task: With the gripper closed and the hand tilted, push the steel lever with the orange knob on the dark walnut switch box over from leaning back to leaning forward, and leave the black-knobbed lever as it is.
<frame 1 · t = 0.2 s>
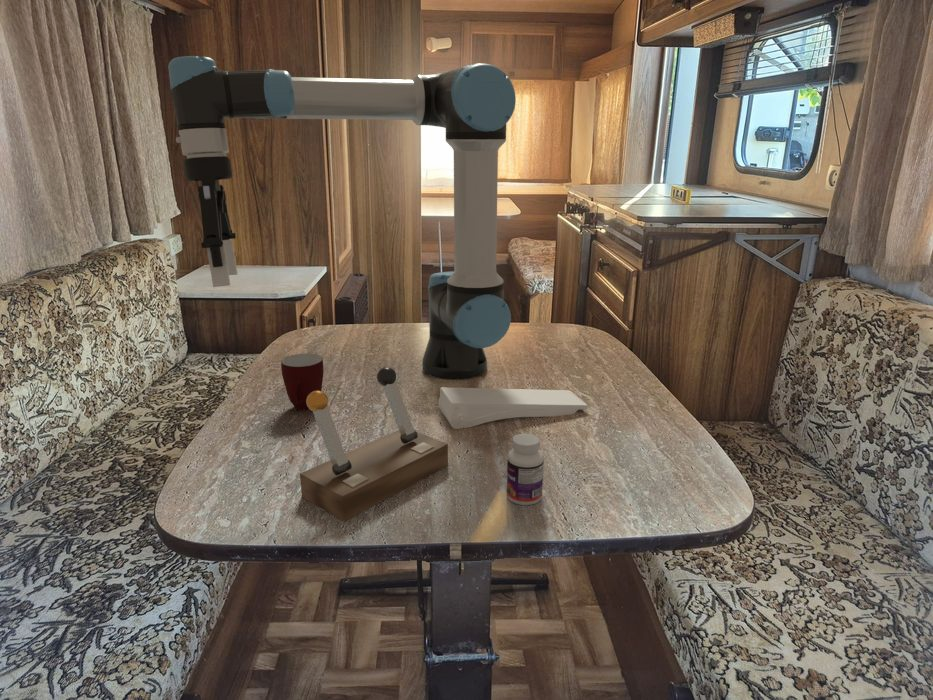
hand: (226, 280, 118), 27 cm above the table, fingers open, 13 cm apart
wall bracket: (512, 415, 132), on the table
mug: (304, 410, 132), on the table
black knob lever: (396, 404, 109), point 10 cm above the table, hinge at -28.0°
orange knob lever: (328, 431, 99), point 10 cm above the table, hinge at -28.0°
pill bottle: (524, 498, 101), on the table
switch box: (378, 480, 105), on the table
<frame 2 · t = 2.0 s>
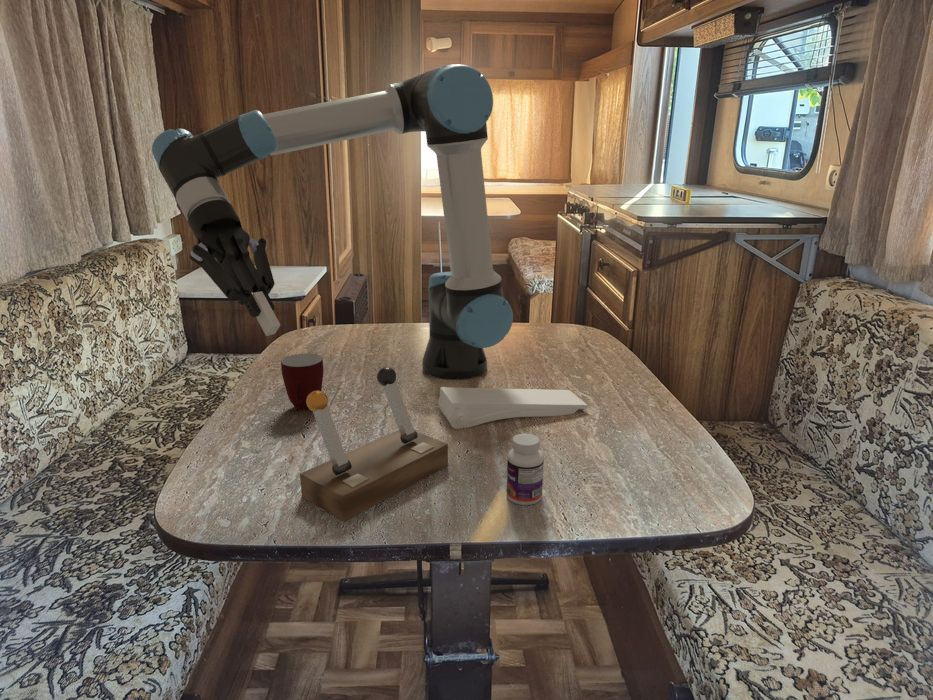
hand: (273, 330, 103), 23 cm above the table, fingers closed
nothing on the table moved.
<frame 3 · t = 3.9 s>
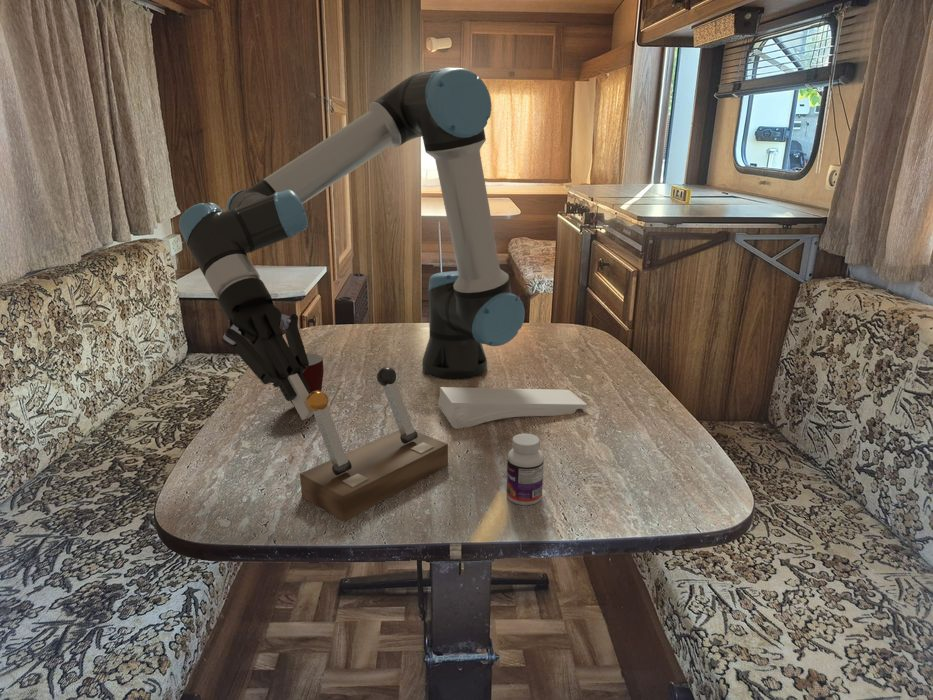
hand: (309, 414, 101), 12 cm above the table, fingers closed
orange knob lever: (328, 431, 99), point 10 cm above the table, hinge at -27.8°, touching gripper
everything else where it was.
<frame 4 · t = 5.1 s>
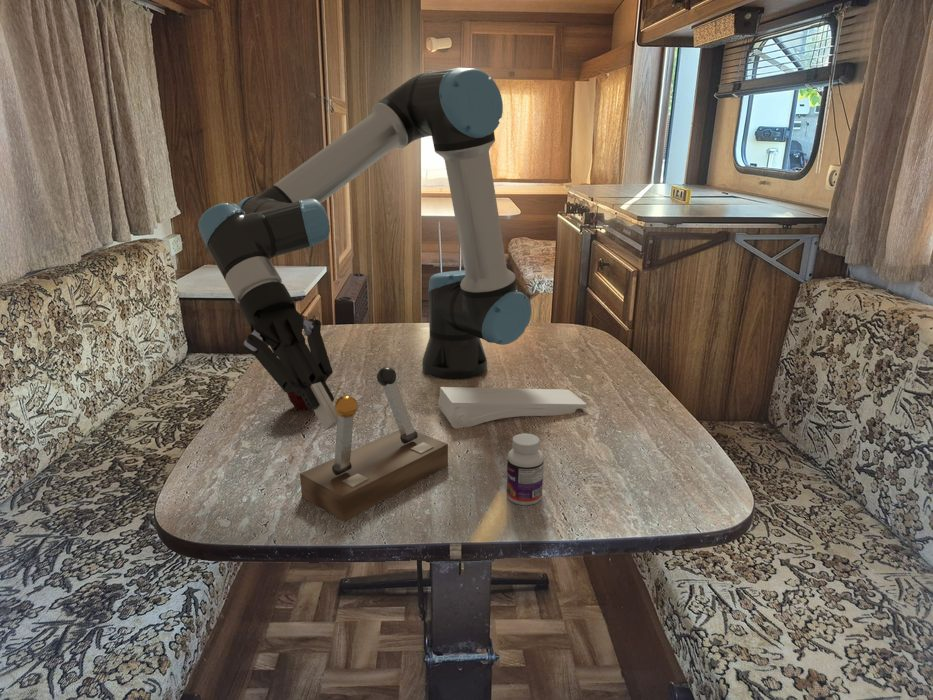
hand: (333, 424, 96), 12 cm above the table, fingers closed
orange knob lever: (344, 435, 96), point 11 cm above the table, hinge at 10.3°, touching gripper
everything else where it was.
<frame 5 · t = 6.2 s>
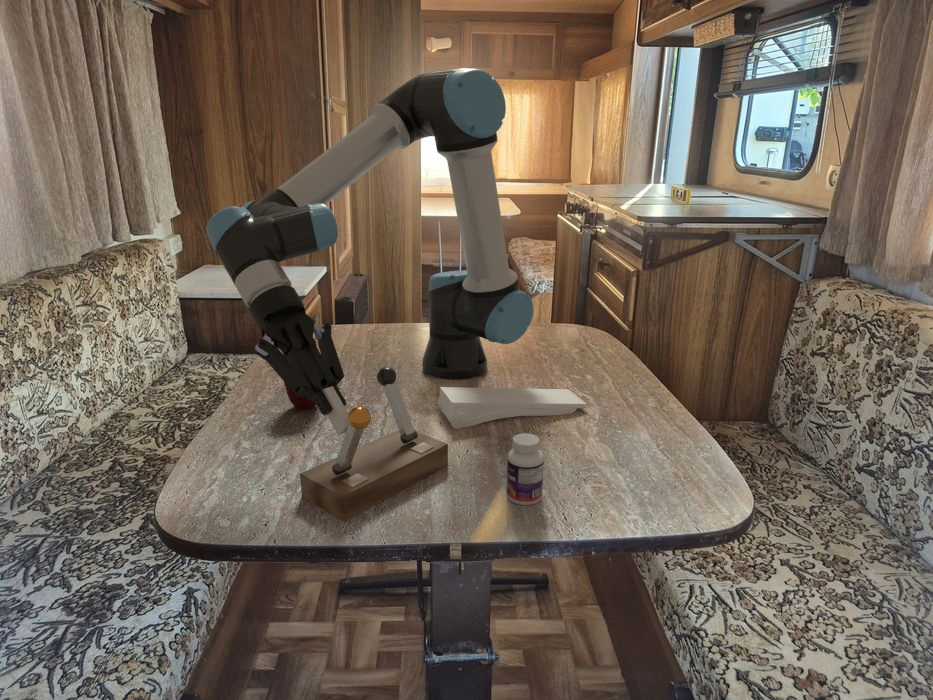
hand: (346, 429, 95), 12 cm above the table, fingers closed
orange knob lever: (351, 441, 96), point 10 cm above the table, hinge at 26.4°, touching gripper
everything else where it was.
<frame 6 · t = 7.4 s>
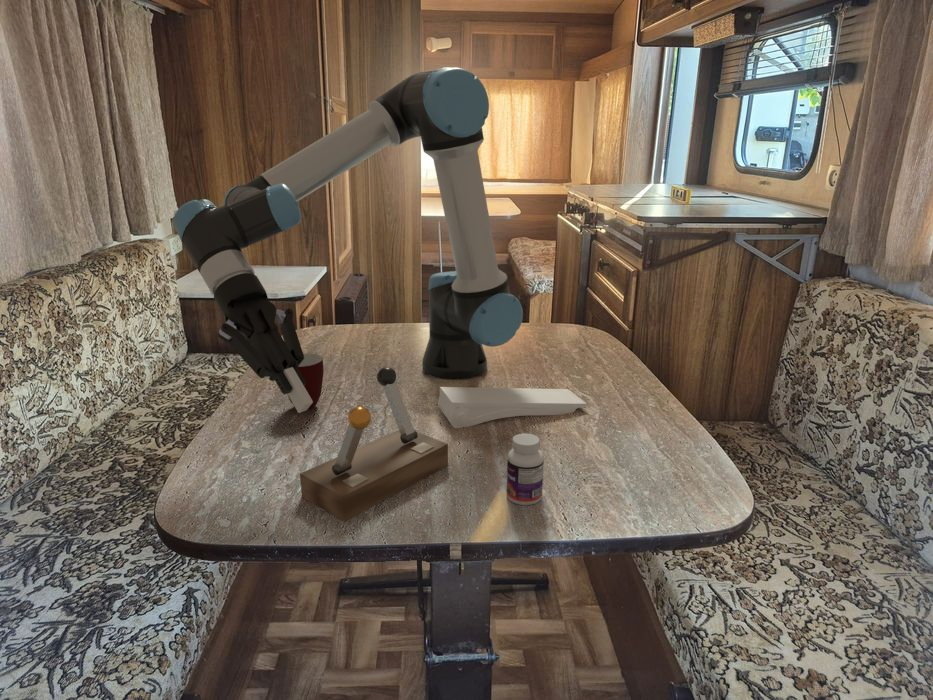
hand: (305, 407, 102), 13 cm above the table, fingers closed
orange knob lever: (351, 441, 96), point 10 cm above the table, hinge at 26.5°
everything else where it was.
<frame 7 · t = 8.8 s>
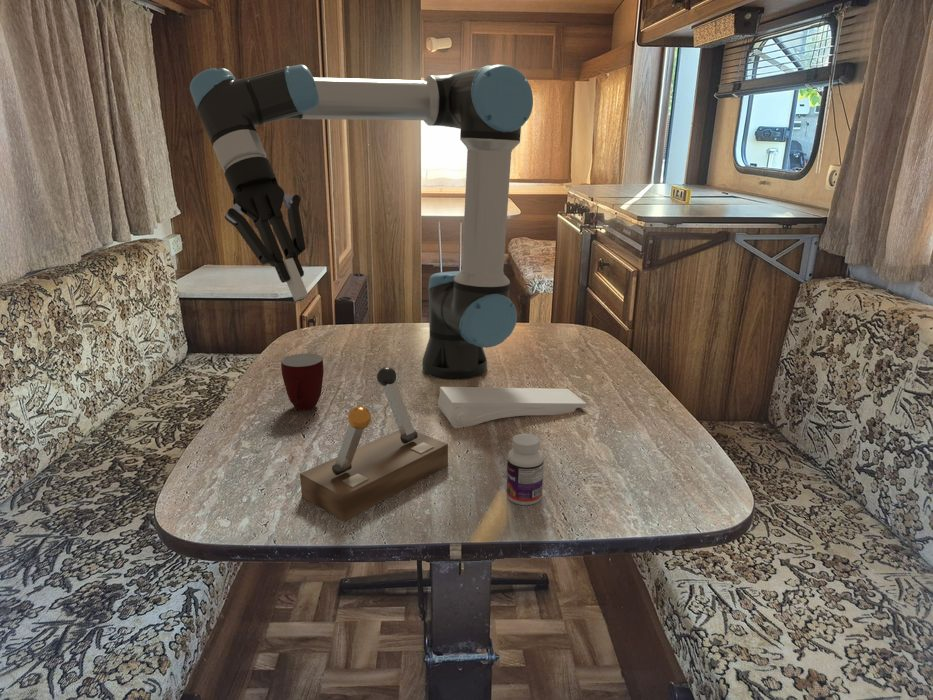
hand: (301, 297, 109), 27 cm above the table, fingers closed
nothing on the table moved.
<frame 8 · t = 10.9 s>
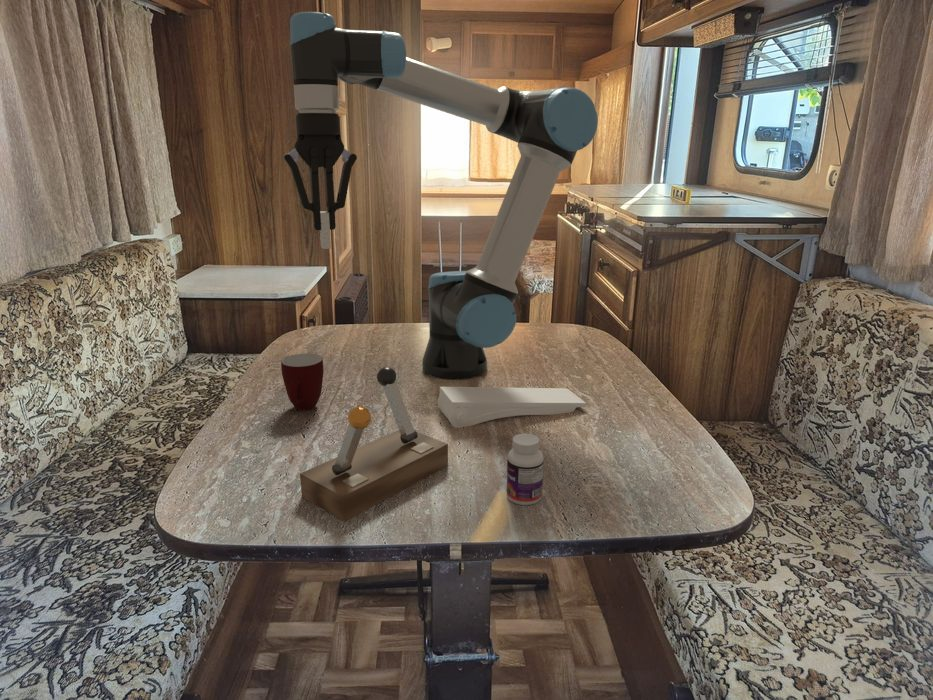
hand: (325, 247, 122), 32 cm above the table, fingers closed
nothing on the table moved.
at the end: orange knob lever at +26° (first picture: -28°); black knob lever at -28° (first picture: -28°) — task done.
